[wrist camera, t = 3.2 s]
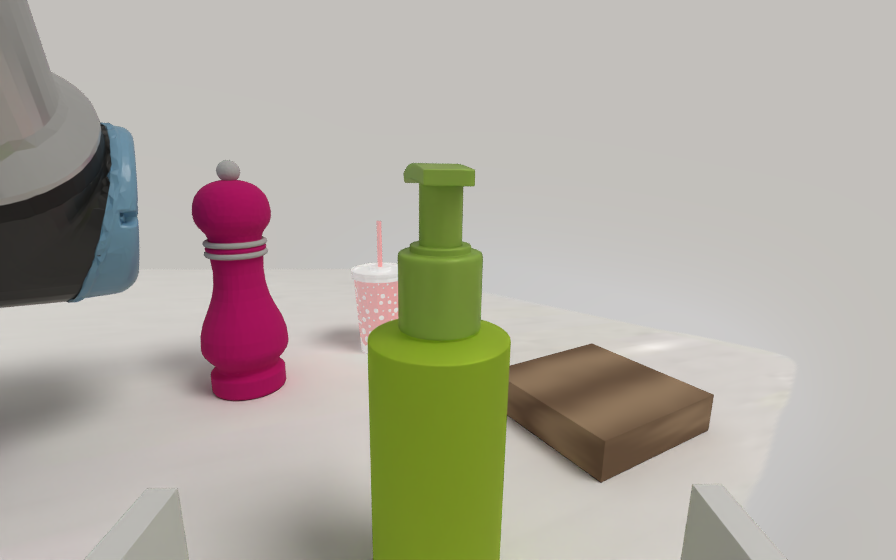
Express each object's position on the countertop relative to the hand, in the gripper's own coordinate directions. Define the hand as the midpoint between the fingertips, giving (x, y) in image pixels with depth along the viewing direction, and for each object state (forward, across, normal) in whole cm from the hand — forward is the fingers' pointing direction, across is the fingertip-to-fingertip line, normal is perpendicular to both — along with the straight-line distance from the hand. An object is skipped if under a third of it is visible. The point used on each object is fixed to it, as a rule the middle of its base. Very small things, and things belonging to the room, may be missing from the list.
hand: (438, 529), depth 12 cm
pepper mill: (+30, -17, -11) cm, 36 cm away
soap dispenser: (+9, 0, -11) cm, 14 cm away
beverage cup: (+39, -6, -11) cm, 41 cm away
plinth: (+24, +13, -11) cm, 29 cm away
